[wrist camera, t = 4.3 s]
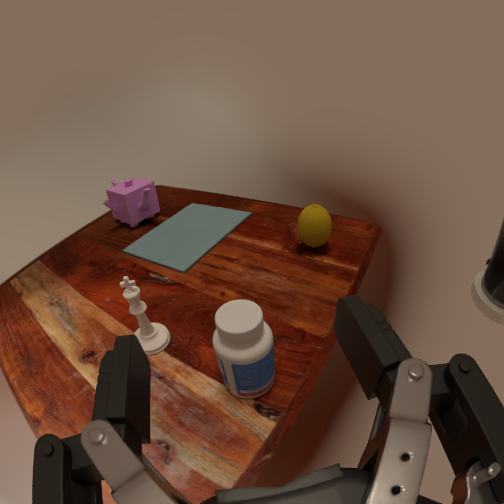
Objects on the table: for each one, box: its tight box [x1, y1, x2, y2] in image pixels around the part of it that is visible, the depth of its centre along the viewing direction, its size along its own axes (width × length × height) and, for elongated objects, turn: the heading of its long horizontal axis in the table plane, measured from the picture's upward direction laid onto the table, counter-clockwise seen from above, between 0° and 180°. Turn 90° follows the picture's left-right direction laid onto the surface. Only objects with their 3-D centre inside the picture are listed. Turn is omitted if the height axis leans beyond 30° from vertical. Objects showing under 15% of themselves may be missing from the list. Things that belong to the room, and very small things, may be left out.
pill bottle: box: [213, 300, 275, 398], centre depth 27 cm, size 6×5×10 cm
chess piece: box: [120, 276, 170, 355], centre depth 32 cm, size 5×5×10 cm
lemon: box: [298, 204, 332, 248], centre depth 47 cm, size 6×6×8 cm
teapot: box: [103, 178, 160, 227], centre depth 62 cm, size 18×13×10 cm
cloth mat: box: [123, 203, 251, 273], centre depth 57 cm, size 16×22×1 cm
